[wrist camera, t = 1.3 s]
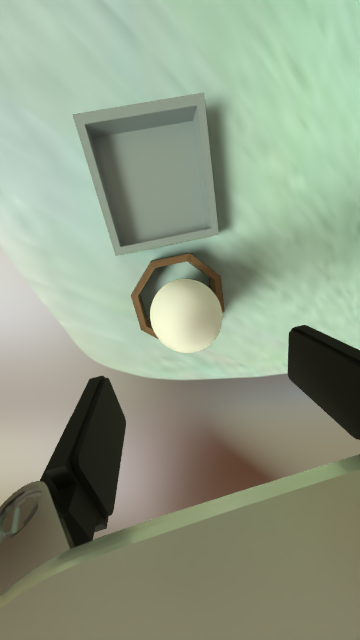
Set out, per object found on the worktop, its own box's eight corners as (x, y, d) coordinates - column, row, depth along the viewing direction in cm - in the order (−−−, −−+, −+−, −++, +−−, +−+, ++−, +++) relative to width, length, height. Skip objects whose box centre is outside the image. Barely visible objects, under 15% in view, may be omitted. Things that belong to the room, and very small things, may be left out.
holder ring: (210, 248, 22) (217, 247, 20) (220, 325, 26) (226, 332, 24) (126, 266, 22) (122, 267, 20) (148, 342, 26) (147, 351, 23)
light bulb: (190, 262, 23) (220, 271, 12) (210, 309, 25) (248, 349, 15) (141, 286, 23) (131, 314, 13) (165, 330, 25) (172, 383, 15)
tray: (197, 114, 18) (203, 92, 16) (211, 236, 22) (218, 234, 20) (84, 133, 17) (72, 114, 15) (120, 255, 21) (115, 255, 19)
